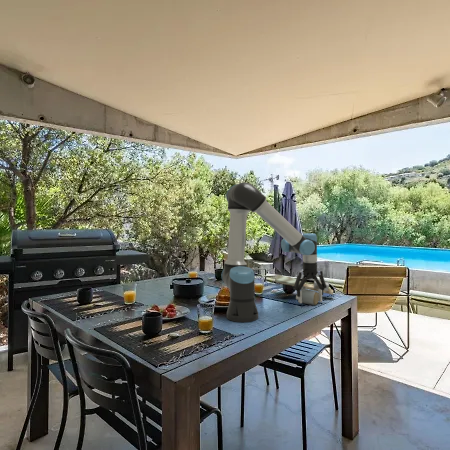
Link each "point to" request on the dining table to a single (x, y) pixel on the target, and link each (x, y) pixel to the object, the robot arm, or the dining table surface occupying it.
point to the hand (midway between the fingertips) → (310, 301)
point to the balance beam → (292, 282)
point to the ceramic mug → (310, 297)
